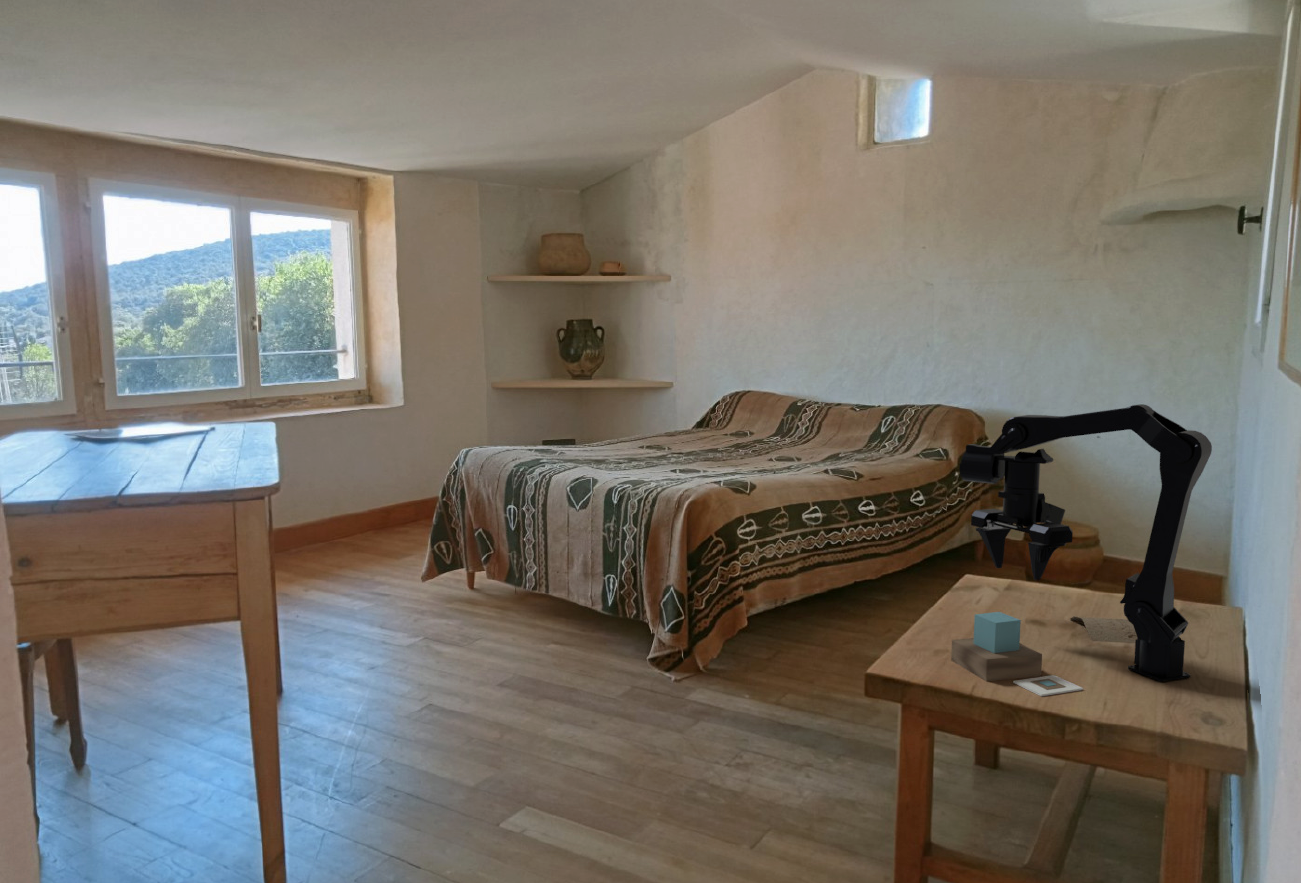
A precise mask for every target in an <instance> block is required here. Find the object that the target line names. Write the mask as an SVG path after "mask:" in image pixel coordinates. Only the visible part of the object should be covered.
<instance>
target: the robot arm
mask: <svg viewBox="0 0 1301 883" xmlns="http://www.w3.org/2000/svg"><path fill="white" fill-rule="evenodd" d="M1002 425H1003V426H1002V428H1001V434H1000V435H999V436H998V438H997V439H996V440H995V441H994V443H993V444H992V445H991V446H989V445H987V446H986V445H980V444H977V443H976V444H975V443H970V444H966V445H965V451H964V453H963V455H962V458H961V461H960V462H959V475H960V478H961V480H963V481H964V482H974V483H981V484H982V483H983V484H991V485H996V484H997V483H998V482H999V481H1000V480H1002V479H1004V480H1003V490H998V498H1001V499H1003V500H1002V502H1003V503H1002V509H997V508H989V509H986V508H985V509H977V510H974V512H973V513H972V514H971V518H970V520H971V521H970V525H971V526H973V527H975V531H976V532H978V533H979V536H980V537H981V540H982V541H983V543H984V545H985V546H986V549H987V551H988V553H989V555H990V558H991V560H992V562H993V564H994V566H995V568H996V569H1002V568H1003V564H1004V554H1005V546H1006V544H1005V543H1006V537H1007V536H1008V535H1009V534H1010V532H1011V530H1014V531H1018V532H1021V533H1024V534H1025V533H1026V534H1029V535H1028V537H1029V539H1030V540H1031V541H1029V542H1027V546H1028V552H1029V553H1028V554H1029V557H1030V558H1029V559H1030V566H1031V572H1032V576H1033V580H1034V581H1040V580H1041V579H1042V577H1043V575H1044V572H1045V571H1046V568H1047V566H1048V563H1049V561H1050V559H1051V558H1052V556H1053V554H1054V552H1055V551H1056V550H1057V549H1059V548H1060V547H1064V546H1065V547H1066V544H1069V543H1070V544H1071V543H1073V536H1074V535H1073V534H1074V533H1073V529H1072V528H1071V527H1070V525H1067V524H1062V522H1063V518H1064V517H1065V513H1066V509H1065V508H1062V507H1059V506H1057V505H1054V504H1052V503H1050V502H1049V503H1048V502H1046V496H1045V493H1044V492H1040V475H1041V474H1040V471H1041V464H1044V465H1045V464H1049V463H1053V462H1054V459H1053V457H1052V456H1050V455H1049V454H1048V453H1047V452H1046V450H1045V449H1044V448H1038V449H1037V450H1036V451H1035V452H1031V451H1021V450H1025V449H1028V448H1034V447H1039V446H1041V445H1045V444H1048V443H1051V442H1055V441H1057V440H1060V439H1063V438H1072V437H1079V436H1087V435H1088V436H1089V435H1096V434H1101V433H1102V434H1103V433H1110V432H1113V433H1114V432H1120V431H1128V430H1129V431H1132V432H1134V433H1135V434H1137V436H1139V437H1140V438H1141V439H1142V441H1144V442H1145V443H1146V445H1147V444H1148V446H1150V447H1151V448H1153V449H1154V450H1155V451H1157V452H1158V453H1159V475H1160V482H1161V487H1160V492H1159V493H1160V494H1159V498H1158V502H1157V506H1156V510H1155V513H1154V514H1155V515H1154V519H1153V523H1152V528H1151V531H1150V536H1149V540H1148V545H1147V549H1146V552H1145V557H1144V563H1143V566H1142V569H1141V572H1140V573H1139V572H1136V573H1135V574H1134V575H1131V576H1129V577H1128V578H1126V579H1125V583H1124V595H1123V597H1122V598H1121V600H1120V601H1119V604H1121V605H1122V604H1123V614H1124V616H1125V618H1126V619H1128V620H1129V622H1130V623H1132V624H1133V626H1134V629H1135V632H1136V635H1137V639H1136V640H1135V643H1134V657H1133V658H1134V661H1133V662H1134V663H1133V665H1128V667H1127V669H1128V670H1130V671H1132V672H1136V673H1137V674H1140V675H1142V676H1144V677H1148V678H1150V679H1152V680H1155V681H1157V682H1163V683H1164V682H1169V681H1175V680H1180V679H1181V680H1182V679H1188V678H1191V673H1189V672H1186V671H1184V661H1185V645H1186V644H1185V642H1186V641H1185V639H1182V638H1181V637H1180V636H1181V635H1183V634H1184V633H1185V631H1186V629H1187V627H1188V626H1189V622H1188V620H1187V619H1186V618H1185V617H1184V616H1183V614H1181V613H1180V612H1179V610H1177V608H1176V607H1175V605H1174V604H1175V586H1174V585H1175V584H1174V576H1173V571H1174V566H1175V562H1176V558H1177V554H1178V550H1179V546H1180V543H1181V538H1182V534H1183V530H1184V524H1185V522H1186V521H1185V520H1186V516H1187V512H1188V508H1189V504H1190V500H1191V497H1192V491H1193V490H1194V488H1195V486H1196V484H1197V482H1198V481H1199V478H1201V476H1202V474H1203V472H1204V469H1205V467H1206V465H1207V464H1208V461H1209V460H1210V457H1211V455H1212V452H1213V451H1212V450H1213V446H1212V442H1211V441H1210V440H1209V438H1208V437H1207V436H1206V435H1205V434H1204V433H1202V432H1200V431H1198V430H1192V429H1191V430H1190V429H1189V430H1188V429H1186V428H1185V427H1183V426H1182V425H1181V424H1178V423H1177V422H1175V421H1174V420H1171V419H1169V418H1168V417H1165V416H1164V415H1162V414H1160V413H1159V412H1157V411H1156V410H1154V409H1153V408H1152V407H1150V406H1149V405H1147V404H1134V405H1130V406H1128V407H1123V408H1115V409H1108V410H1107V409H1106V410H1102V411H1101V410H1100V411H1093V412H1087V413H1086V412H1085V413H1078V414H1072V415H1063V416H1061V415H1059V416H1058V415H1047V414H1045V415H1042V414H1038V415H1037V414H1027V415H1019V416H1013V417H1010V418H1008V419H1007V420H1006V421H1005V423H1004V424H1002ZM1019 450H1020V451H1019ZM1016 451H1018V452H1017V453H1016V454H1015V455H1014V456H1013V455H1005V454H1007V453H1008V454H1009V453H1012V452H1016Z"/></svg>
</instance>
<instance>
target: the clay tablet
mask: <svg viewBox="0 0 1301 883" xmlns="http://www.w3.org/2000/svg"><path fill="white" fill-rule="evenodd" d="M1069 620H1070V621H1075V622H1083V624H1084V627H1085V629H1086V632H1088V636H1089V638H1090V640H1091V642H1103V643H1106V642H1107V643H1119V644H1120V643H1122V644H1123V643H1124V644H1135V640H1136V639H1137V635H1136V632H1135V629H1134V626H1133V624H1132V623H1130V622H1129V620H1128V619H1127V618H1104V617H1086V616H1085V617H1081V616H1072V617H1070V618H1069Z"/></svg>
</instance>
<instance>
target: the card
mask: <svg viewBox="0 0 1301 883" xmlns="http://www.w3.org/2000/svg"><path fill="white" fill-rule="evenodd" d="M1013 684H1015V685H1016V686H1019V687H1021V688H1023V689H1025V690H1027V691H1029V692H1031V693H1033V694H1036V695H1038V696H1039V697H1047V696H1051V695H1059V694H1067V693H1071V692H1072V693H1073V692H1078V691H1083V690H1084V688H1083V687H1082V686H1079V685H1077V684H1075V683H1073V682H1070V681H1068V680H1066V679H1063V677H1060V676H1057V675H1055V674H1054V675H1053V674H1052V675H1051V674H1050V675H1045V676H1037V677H1029V678H1025V679H1018V680H1013Z"/></svg>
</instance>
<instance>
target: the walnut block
mask: <svg viewBox="0 0 1301 883" xmlns="http://www.w3.org/2000/svg"><path fill="white" fill-rule="evenodd" d="M973 642H974V637H969V638H968V637H967V638H959V639H958V638H957V639H952V640H951V652H950V653H951V657H950V658H951V659H950V661H951V662H953V663H955V664H956V665H957V666H958V665H959V667H961V668H963V669H965V670H966V671H968V672H969V673H972V674H974V676H976V677H978V678H980V679H981V680H983V681H985V682H991V681H992V682H993V681H1001V680H1002V681H1004V680H1013V679H1023V678H1025V679H1027V678H1037V677H1042V666H1043V665H1042V664H1043V654H1042V653H1040V652H1038V651H1036V650H1034V649H1032V648H1030V647H1029V646H1026V645H1024V644H1022V643H1020V644H1019V650H1016V651H1008V652H1000V653H993V652H990V651H988V650H986V649H984V648H981V647H979V646H977V645H975V644H973Z"/></svg>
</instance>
